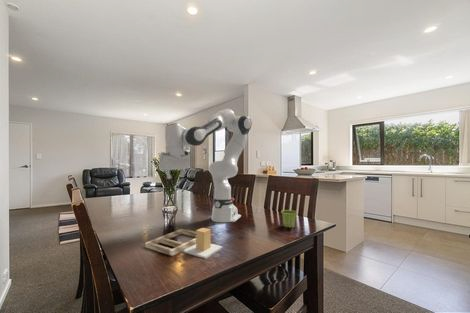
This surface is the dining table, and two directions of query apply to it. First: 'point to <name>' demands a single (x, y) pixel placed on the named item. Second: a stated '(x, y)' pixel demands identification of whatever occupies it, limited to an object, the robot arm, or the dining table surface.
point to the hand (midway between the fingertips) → (175, 178)
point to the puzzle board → (171, 242)
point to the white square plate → (203, 254)
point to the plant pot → (289, 218)
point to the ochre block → (203, 239)
